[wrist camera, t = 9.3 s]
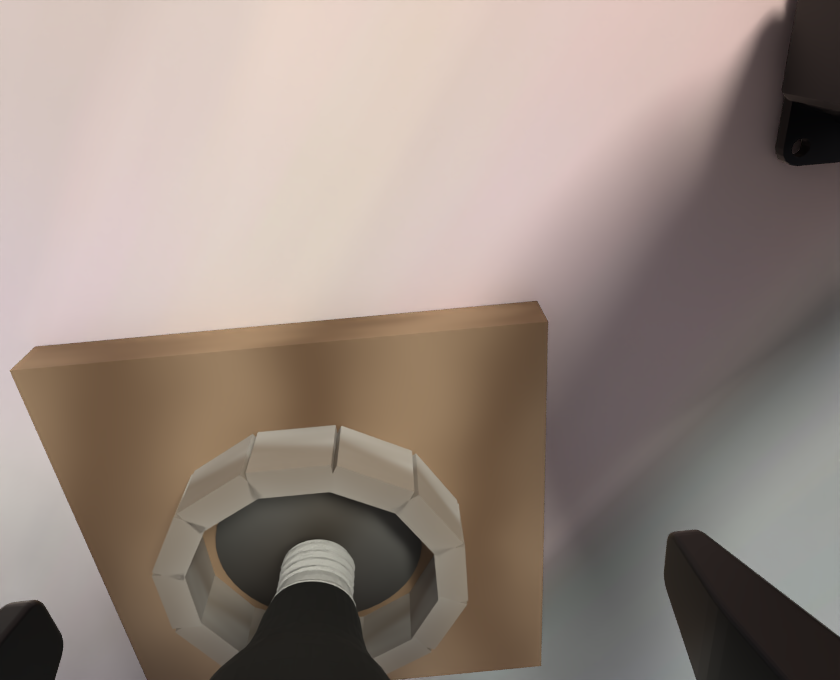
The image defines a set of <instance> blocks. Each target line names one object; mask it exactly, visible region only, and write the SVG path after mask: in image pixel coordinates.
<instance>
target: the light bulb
mask: <svg viewBox="0 0 840 680" xmlns="http://www.w3.org/2000/svg"><path fill="white" fill-rule="evenodd" d="M354 571H355V564H354V561H353V559H352V557H351V556H350V555H349V553H348V552H347V550H345V549H344V548H343V547H342V546H340V545H339V544H337V543H335V542H332V541H328V540H323V539H315V540H308V541H305V542H302V543H299V544H298V545H296V546H294V547H293V548H292V549H291V550H289V551H288V553H287V554H286V556H285V558H284V561H283V563H282V566H281V572H280V579H279V582H278V588H277V593H276V594H275V596H274V598H273V599H272V601H271V603H270V605H269V607H268V608H267V610H266V612H265V613H264V615H263V617H262V619H261V622H260V624H259V626H258V629H257V631H256V633H255V635H254V636H253V638H252V640H251V641H250V643H249V644H248V645H247V646H246V647H245V648H244V649H243V650H241V651H240V652H238V653H237V654H236V655H235V656H233V657H232V658H231V659H230V660H229V661H227V662H226V663H225V664H224V665H223V666H222V667H220V668H219V669H218V670H217V671H216V672H215V674H214V675H213V676H212V677H211V678H210V680H390V679H389V677H388V676H387V674H386V673H385V672H384V670H383V669H382V667H381V666H380V665H379V664H378V663H377V662H376V661H375V660H374V659H373V658H372V657H371V656H370V654H369V653H368V651H367V649H366V646H365V642H364V639H363V634H362V628H361V622H360V618H359V615H358V612H357V609H356V604H355V602H354V600H353V593H354V589H353V587H354V577H355V576H354Z"/></svg>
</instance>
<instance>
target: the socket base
mask: <svg viewBox="0 0 840 680" xmlns="http://www.w3.org/2000/svg"><path fill="white" fill-rule="evenodd" d="M547 341H548V321H547V319H546V317H545V315H544V313H543V311H542V309H541V308H540V306H539V304H538V302H537V301H532V302H521V303H510V304H499V305H488V306H477V307H466V308H455V309H444V310H433V311H422V312H411V313H400V314H389V315H378V316H367V317H356V318H345V319H334V320H323V321H312V322H301V323H290V324H279V325H268V326H257V327H246V328H235V329H224V330H213V331H202V332H191V333H180V334H169V335H158V336H147V337H136V338H125V339H114V340H103V341H92V342H81V343H70V344H60V345H49V346H38V347H34V348H33V349H32V350H31V351H30V352H29V353H28V354H27V355H26V356H25V357H24V358H23V359H22V360H21V361H19V362H18V363H17V364H16V365H15V366H14V367H13V368H12V369H11V370H10V372H11V374H12V377H13V379H14V381H15V383H16V386H17V388H18V390H19V392H20V395H21V397H22V399H23V401H24V404H25V406H26V408H27V410H28V413H29V415H30V417H31V419H32V422H33V424H34V426H35V428H36V431H37V433H38V435H39V437H40V440H41V442H42V444H43V446H44V449H45V451H46V453H47V455H48V458H49V460H50V462H51V464H52V467H53V469H54V471H55V473H56V476H57V478H58V480H59V482H60V485H61V487H62V489H63V491H64V494H65V496H66V498H67V500H68V503H69V505H70V507H71V509H72V512H73V514H74V516H75V518H76V521H77V523H78V525H79V527H80V530H81V532H82V534H83V536H84V539H85V541H86V543H87V546H88V548H89V550H90V552H91V555H92V557H93V559H94V561H95V564H96V566H97V568H98V570H99V573H100V575H101V577H102V579H103V582H104V584H105V586H106V588H107V591H108V593H109V595H110V597H111V600H112V602H113V604H114V606H115V609H116V611H117V613H118V615H119V618H120V620H121V622H122V624H123V627H124V629H125V631H126V633H127V636H128V638H129V640H130V642H131V645H132V647H133V649H134V651H135V654H136V656H137V658H138V660H139V663H140V665H141V667H142V669H143V672H144V674H145V676H146V678H147V680H210V678H211V677H212V676H213V675H214V674H215V672H216V671H217V670H218V669H219V668H220V667H222V666H223V665H224V664H225V663H226V662H227V661H229V660H230V659H231V658H232V657H233V656H235V655H236V654H237V653H238V652H240V651H241V650H243V649H244V648H245V647H246V646H247V645H248V644H249V643H250V641H251V640H252V638H253V636H254V635H255V633H256V631H257V629H258V626H259V624H260V622H261V619H262V617H263V615H264V613H265V612H266V610H267V608H268V607H269V605H270V603H271V601H272V599H273V598H274V596H275V594H276V593H277V588H278V582H279V579H280V572H281V566H282V563H283V561H284V558H285V556H286V554H287V553H288V551H289V550H291V549H292V548H293V547H294V546H296V545H298V544H299V543H302V542H305V541H308V540H315V539H323V540H328V541H332V542H335V543H337V544H339V545H340V546H342V547H343V548H344V549H345V550H347V552H348V553H349V555H350V556H351V557H352V559H353V561H354V564H355V571H354V576H355V577H354V587H353V589H354V593H353V600H354V602H355V604H356V609H357V612H358V615H359V618H360V622H361V628H362V634H363V639H364V642H365V646H366V649H367V651H368V653H369V654H370V656H371V657H372V658H373V659H374V660H375V661H376V662H377V663H378V664H379V665H380V666H381V667H382V669H383V670H384V672H385V673H386V674H387V676H388V677H389V679H390V680H398V679H408V678H419V677H429V676H440V675H450V674H461V673H471V672H482V671H492V670H503V669H513V668H524V667H534V666H541V644H542V593H543V543H544V492H545V442H546V391H547Z"/></svg>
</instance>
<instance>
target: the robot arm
mask: <svg viewBox="0 0 840 680" xmlns="http://www.w3.org/2000/svg"><path fill="white" fill-rule="evenodd" d="M782 92H783V94H784V95H785V97H784V103H783V108H782V113H781V119H780V124H779V130H778V135H777V141H776V146H775V151H776V155H777V157H778V159H779V160H781V161H782V162H784V163H787V164H789V165H794V166H802V165H813V164H824V163H835V162H840V0H798V2H797V7H796V13H795V18H794V24H793V30H792V35H791V41H790V46H789V52H788V57H787V63H786V69H785V74H784V80H783V85H782ZM799 139H801V140H802V145H801V147H800V149H799V150H798V151H797V152H796V153H794V154H792V147H793V145H794V143H795V142H796V141H798V140H799ZM664 580H665V585H666V589H667V593H668V596H669V599H670V602H671V605H672V608H673V611H674V614H675V617H676V620H677V623H678V626H679V629H680V632H681V635H682V638H683V641H684V644H685V647H686V650H687V653H688V656H689V659H690V662H691V665H692V668H693V671H694V674H695V677H696V680H840V637H839V636H838V635H837V634H835V633H834V632H833V631H831V630H830V629H829V628H828V627H826V626H825V625H824V624H822V623H821V622H820V621H818V620H817V619H816V618H814V617H813V616H812V615H811V614H809V613H808V612H807V611H805V610H804V609H803V608H801V607H800V606H799V605H798V604H796V603H795V602H794V601H792V600H791V599H790V598H788V597H787V596H786V595H784V594H783V593H782V592H781V591H779V590H778V589H777V588H775V587H774V586H773V585H771V584H770V583H769V582H768V581H766V580H765V579H764V578H762V577H761V576H760V575H758V574H757V573H756V572H754V571H753V570H752V569H751V568H749V567H748V566H747V565H745V564H744V563H743V562H741V561H740V560H739V559H738V558H736V557H735V556H734V555H732V554H731V553H730V552H728V551H727V550H726V549H724V548H723V547H722V546H721V545H719V544H718V543H717V542H715V541H714V540H713V539H711V538H710V537H709V536H708V535H706V534H705V533H703V532H702V531H699V530H685V531H676V532H672V533H670V534H669V536H668V539H667V547H666V557H665V567H664ZM62 652H63V639H62V635H61V633H60V631H59V630H58V628H57V626H56V624H55V623H54V621H53V619H52V618H51V616H50V614H49V612H48V611H47V609H46V607H45V606H44V604H43V603H41V602H40V601H38V600H29V601H20V602H13V603H9V604H7V605H5V606H4V607H2V608H1V609H0V680H55V677H56V674H57V670H58V667H59V663H60V660H61V656H62Z"/></svg>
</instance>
